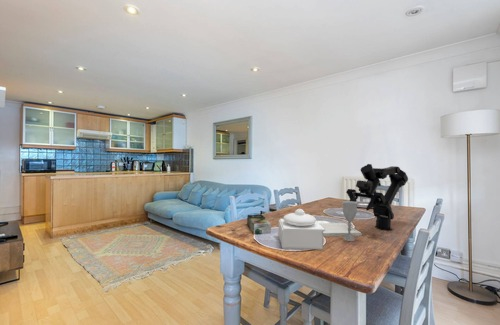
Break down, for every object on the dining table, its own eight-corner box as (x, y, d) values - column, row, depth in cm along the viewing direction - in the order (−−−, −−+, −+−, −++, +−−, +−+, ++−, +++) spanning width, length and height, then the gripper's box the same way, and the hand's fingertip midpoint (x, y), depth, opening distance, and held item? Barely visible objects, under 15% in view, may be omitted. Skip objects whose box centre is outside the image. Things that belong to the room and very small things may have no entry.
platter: (344, 225, 136) (344, 223, 136) (361, 235, 118) (361, 232, 118) (311, 226, 135) (311, 223, 135) (323, 236, 117) (323, 233, 117)
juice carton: (272, 234, 119) (272, 222, 119) (253, 235, 117) (253, 223, 117) (262, 224, 139) (262, 214, 139) (246, 225, 137) (246, 214, 137)
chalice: (356, 237, 114) (357, 201, 114) (358, 242, 108) (358, 204, 108) (340, 236, 117) (341, 200, 117) (341, 240, 110) (342, 202, 110)
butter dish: (278, 235, 117) (278, 204, 117) (314, 236, 116) (314, 205, 116) (282, 249, 99) (282, 212, 99) (324, 250, 99) (325, 213, 99)
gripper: (348, 174, 128) (335, 194, 122) (383, 176, 113) (370, 200, 106) (356, 188, 132) (344, 208, 126) (391, 192, 117) (378, 215, 111)
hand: (357, 208), depth 117 cm, fingers open, 9 cm apart
